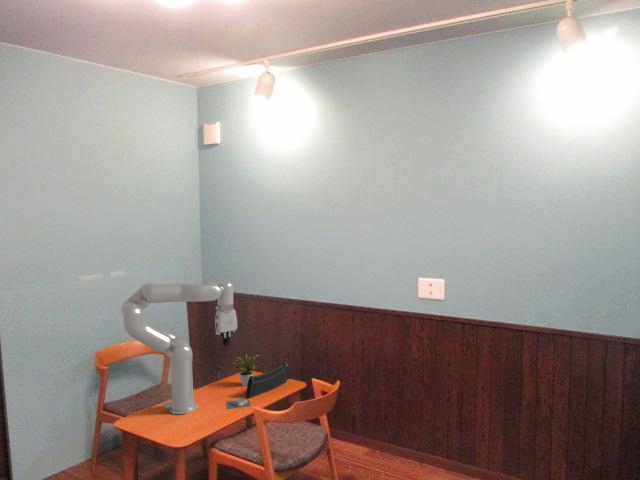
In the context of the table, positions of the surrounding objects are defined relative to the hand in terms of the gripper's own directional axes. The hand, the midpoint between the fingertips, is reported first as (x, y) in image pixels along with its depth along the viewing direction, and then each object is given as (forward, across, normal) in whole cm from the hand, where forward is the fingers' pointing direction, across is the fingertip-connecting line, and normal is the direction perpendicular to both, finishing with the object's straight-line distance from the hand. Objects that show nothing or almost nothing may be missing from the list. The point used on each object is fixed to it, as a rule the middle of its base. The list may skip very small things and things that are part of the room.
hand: (226, 345), depth 238 cm
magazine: (+27, +23, -4) cm, 35 cm away
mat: (+27, +1, -9) cm, 28 cm away
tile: (+26, -1, -10) cm, 27 cm away
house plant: (+27, +19, +10) cm, 35 cm away
